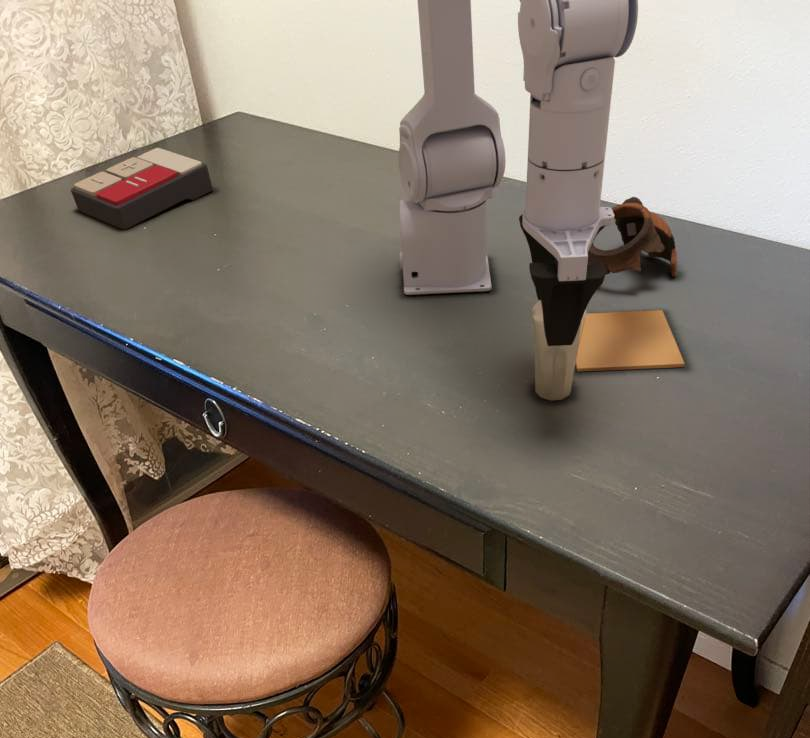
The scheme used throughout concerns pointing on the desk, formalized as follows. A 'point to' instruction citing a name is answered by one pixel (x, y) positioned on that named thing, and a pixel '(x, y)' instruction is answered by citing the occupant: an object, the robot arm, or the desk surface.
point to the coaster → (627, 342)
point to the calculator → (141, 187)
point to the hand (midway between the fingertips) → (554, 319)
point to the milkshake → (553, 360)
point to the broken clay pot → (636, 239)
